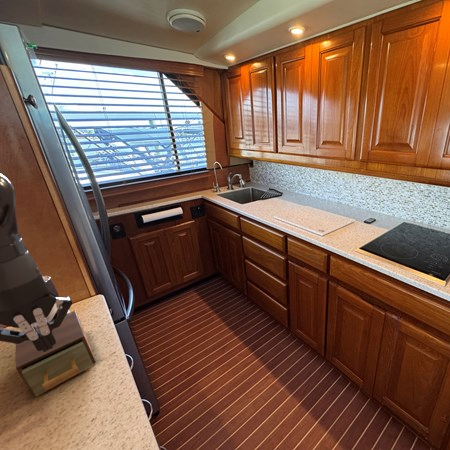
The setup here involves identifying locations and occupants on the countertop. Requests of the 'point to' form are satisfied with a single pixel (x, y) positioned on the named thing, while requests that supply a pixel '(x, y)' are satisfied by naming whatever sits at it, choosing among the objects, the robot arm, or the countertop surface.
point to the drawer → (57, 367)
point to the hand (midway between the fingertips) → (48, 347)
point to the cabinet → (64, 337)
